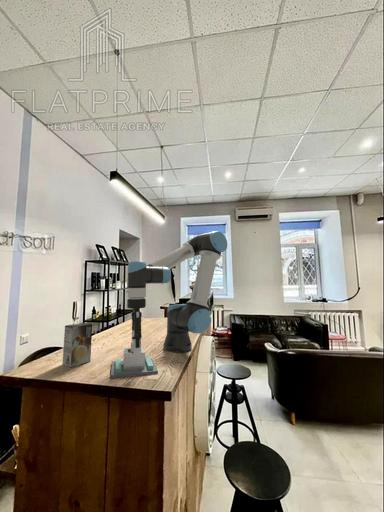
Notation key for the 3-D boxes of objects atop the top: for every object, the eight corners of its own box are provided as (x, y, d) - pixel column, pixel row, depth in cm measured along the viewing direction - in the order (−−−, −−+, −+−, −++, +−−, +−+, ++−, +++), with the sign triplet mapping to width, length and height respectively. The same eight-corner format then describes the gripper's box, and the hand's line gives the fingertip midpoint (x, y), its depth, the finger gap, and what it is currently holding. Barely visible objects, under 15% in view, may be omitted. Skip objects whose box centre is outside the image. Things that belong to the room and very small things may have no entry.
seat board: (152, 360, 103) (153, 337, 104) (158, 373, 88) (158, 346, 89) (112, 363, 98) (113, 339, 99) (110, 378, 83) (112, 349, 84)
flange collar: (123, 363, 95) (123, 348, 96) (142, 361, 98) (143, 346, 99) (123, 370, 88) (124, 353, 89) (144, 368, 90) (145, 351, 91)
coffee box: (82, 359, 104) (84, 322, 106) (90, 361, 100) (93, 323, 102) (61, 364, 96) (64, 325, 98) (70, 367, 93) (73, 326, 95)
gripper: (126, 296, 107) (125, 344, 105) (128, 301, 83) (127, 362, 81) (142, 296, 109) (142, 342, 107) (149, 300, 86) (149, 359, 83)
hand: (135, 351), depth 94 cm, fingers open, 13 cm apart
